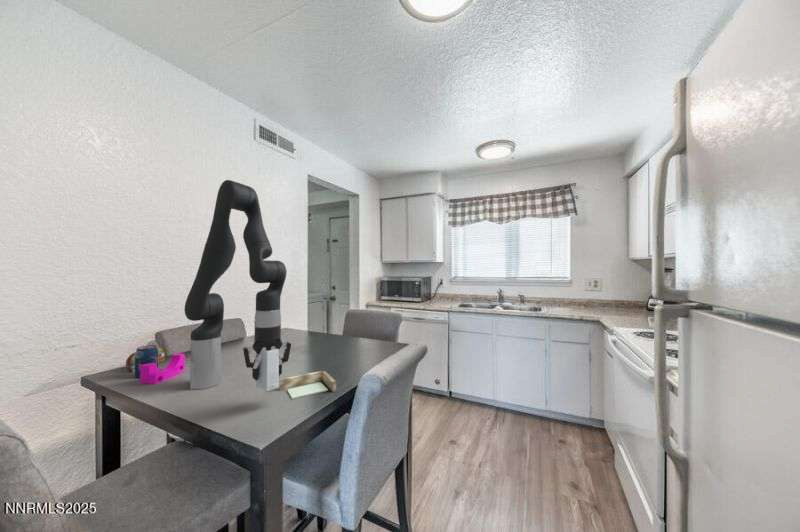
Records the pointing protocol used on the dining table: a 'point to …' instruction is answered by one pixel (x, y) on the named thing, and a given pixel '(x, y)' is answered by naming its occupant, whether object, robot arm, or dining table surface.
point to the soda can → (145, 357)
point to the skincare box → (268, 370)
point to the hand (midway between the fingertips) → (267, 377)
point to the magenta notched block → (154, 375)
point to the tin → (131, 359)
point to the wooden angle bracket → (308, 380)
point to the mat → (306, 390)
